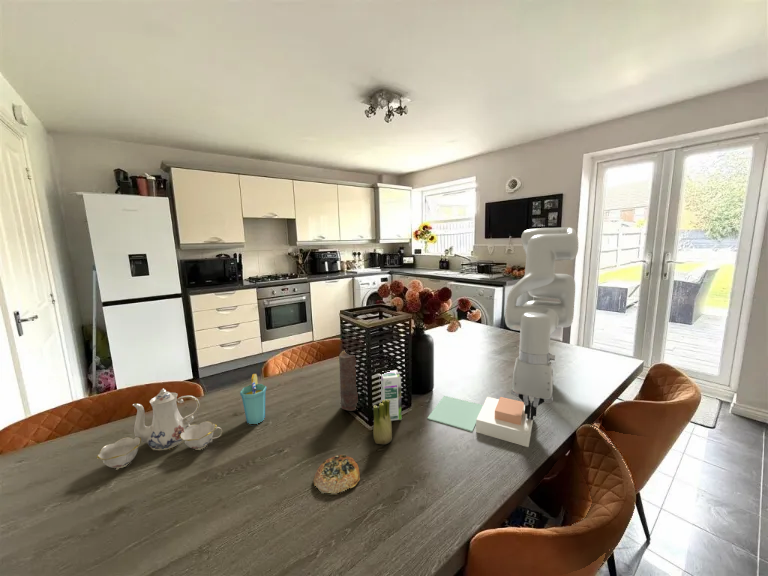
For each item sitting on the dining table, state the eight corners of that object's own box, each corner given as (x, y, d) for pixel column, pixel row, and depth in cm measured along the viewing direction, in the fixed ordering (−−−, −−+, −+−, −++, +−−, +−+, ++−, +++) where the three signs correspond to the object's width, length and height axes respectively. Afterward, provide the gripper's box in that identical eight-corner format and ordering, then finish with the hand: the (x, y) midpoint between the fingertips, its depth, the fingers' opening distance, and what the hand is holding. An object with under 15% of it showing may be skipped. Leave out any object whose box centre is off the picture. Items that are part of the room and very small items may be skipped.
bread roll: (338, 454, 81) (339, 439, 79) (369, 480, 74) (370, 463, 73) (303, 481, 72) (303, 464, 71) (334, 512, 66) (335, 494, 64)
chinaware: (90, 492, 72) (75, 432, 68) (111, 445, 86) (100, 393, 82) (223, 453, 85) (217, 400, 81) (223, 417, 99) (218, 371, 95)
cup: (271, 430, 92) (268, 383, 90) (243, 437, 89) (239, 389, 86) (267, 408, 104) (263, 366, 102) (242, 414, 101) (238, 371, 99)
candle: (359, 415, 99) (357, 356, 96) (337, 413, 101) (335, 355, 98) (365, 403, 107) (363, 348, 104) (345, 401, 108) (343, 347, 105)
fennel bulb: (374, 448, 83) (373, 407, 81) (370, 437, 88) (369, 398, 86) (395, 444, 85) (394, 404, 83) (390, 434, 89) (389, 395, 87)
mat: (444, 396, 110) (444, 395, 110) (484, 406, 103) (484, 405, 103) (427, 419, 96) (427, 417, 96) (472, 432, 89) (472, 430, 89)
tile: (499, 404, 97) (500, 396, 96) (524, 409, 93) (524, 402, 93) (494, 418, 89) (494, 410, 89) (520, 425, 86) (521, 417, 85)
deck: (486, 407, 102) (487, 396, 101) (533, 419, 95) (533, 407, 95) (476, 432, 89) (476, 419, 89) (528, 447, 82) (529, 433, 82)
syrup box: (384, 422, 95) (383, 378, 93) (380, 412, 101) (379, 370, 98) (401, 420, 96) (401, 376, 94) (397, 410, 102) (396, 368, 100)
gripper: (564, 356, 85) (559, 417, 88) (507, 348, 92) (504, 404, 95) (564, 366, 79) (560, 431, 81) (503, 356, 86) (500, 416, 89)
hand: (530, 416), depth 88 cm, fingers closed
